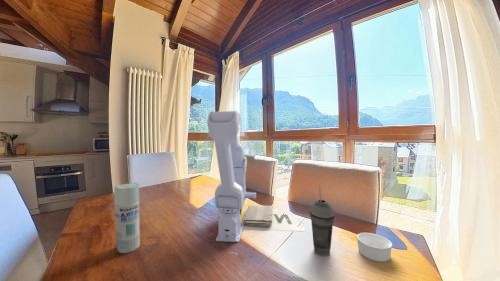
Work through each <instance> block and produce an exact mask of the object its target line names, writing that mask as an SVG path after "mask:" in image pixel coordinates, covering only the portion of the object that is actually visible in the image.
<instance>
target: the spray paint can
mask: <svg viewBox="0 0 500 281" xmlns="http://www.w3.org/2000/svg"><path fill="white" fill-rule="evenodd" d="M113 189H114V190H113V191H114V213H115V215H114V216H115V232H116V233H115V234H116V235H115V236H116V238H115V239H116V251H117V253H119V254H128V253H130V252H133V251H135V250H137V249H138V248H139V247H140V243H141V236H140V235H141V234H140V190H139V189H140V186H139V184H138V183H135V182H133V183H124V184H119V185H116V186H115V187H114V188H113Z"/></svg>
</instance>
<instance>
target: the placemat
mask: <svg viewBox="0 0 500 281" xmlns="http://www.w3.org/2000/svg"><path fill="white" fill-rule="evenodd" d="M247 208H248V207H246V209H245V212H244V214H245V213H246V211H247ZM277 209H278V208H276V207H275V208H273V215H272V225H271V226H270V227H255V226H243V220H242V222H241V224H240V227H242V228H243V230H259V231H261V230H264V231H265V230H266V231H286V232H287V231H289V232H305V228H304V226H303V227H302V228H301V226H299V227H297V226H298V225H297V224H296V225H297V226H296V225H295V223H294V222H295V221H294V222H293V223H292V221H291V220H289V219H290V217H291V216H290V215H289V216H290V217H289V216H288V214H285V215H284V213H283V215H282V214H281V215H278V210H277ZM284 209H285V210H286V209H287V208H284ZM279 212H280V211H279ZM279 214H280V213H279ZM287 219H288V220H287ZM291 219H292V218H291ZM300 228H301V229H300Z"/></svg>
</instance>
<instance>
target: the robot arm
mask: <svg viewBox="0 0 500 281" xmlns="http://www.w3.org/2000/svg"><path fill="white" fill-rule="evenodd" d="M206 122H207V129H208V134H209V138H210V139H212V141H213V142H214V147H215V152H216V159H217V163H218V164H217V165H218V172H219V178H220V184H218V186H217V187H216V189H215V192H214V206H215V208H217V209H218V212H219V214H220V215H219V216H220V218H219V221H218V226H217V227H218V234H217V236H216V238H215V241H216V242H225V243H226V242H232V243H239V242H240V240H241V237H242V232H243V230H244V229H243V228H242V227H241V216H242V210H243V209H244V206H245V201H246V199H247V198H248V199H257V192H252V191H247V189H246V178H247V177H246V174H247V166H248V158H247V156H245V155H244V150H243V145H242V144H241V143H239V141H238V140H239V139H238V134H239V132H240V127H241V123H242V122H241V114H240V112H239V111H238V110H230V111H228V110H227V111H226V110H225V111H213V110H211V111H210V112H209V113H208V116H207V120H206Z"/></svg>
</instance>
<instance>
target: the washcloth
mask: <svg viewBox="0 0 500 281" xmlns="http://www.w3.org/2000/svg"><path fill="white" fill-rule="evenodd" d="M246 208H247V211H246V210H245V212H246V213H245V212H244V215H243V218H242V221H243V226H255V227H270V226H271V225H272V215H273V205H254V204H253V205H248V206H247V207H246Z"/></svg>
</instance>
